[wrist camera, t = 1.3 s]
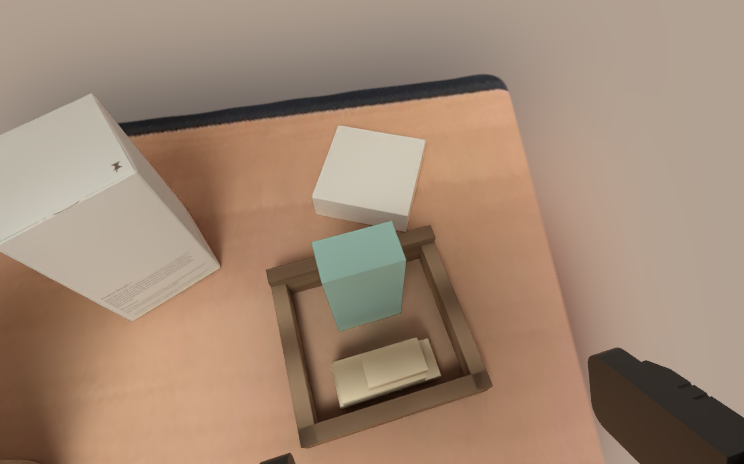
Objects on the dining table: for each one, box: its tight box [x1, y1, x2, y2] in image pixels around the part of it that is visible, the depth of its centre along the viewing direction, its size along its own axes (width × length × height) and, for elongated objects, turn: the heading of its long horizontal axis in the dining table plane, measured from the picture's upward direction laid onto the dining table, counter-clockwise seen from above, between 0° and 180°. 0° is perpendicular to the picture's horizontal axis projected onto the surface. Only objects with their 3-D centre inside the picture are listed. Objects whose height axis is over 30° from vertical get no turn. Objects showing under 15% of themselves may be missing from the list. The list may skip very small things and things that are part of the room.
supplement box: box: [0, 93, 221, 321], centre depth 33 cm, size 9×9×15 cm
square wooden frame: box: [266, 225, 493, 448], centre depth 34 cm, size 14×14×4 cm
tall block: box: [311, 221, 406, 331], centre depth 32 cm, size 3×6×11 cm, turn 107°
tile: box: [312, 125, 426, 232], centre depth 41 cm, size 9×9×3 cm
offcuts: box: [331, 337, 441, 409], centre depth 32 cm, size 3×8×4 cm, turn 106°
